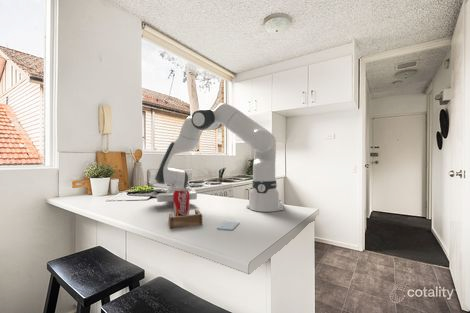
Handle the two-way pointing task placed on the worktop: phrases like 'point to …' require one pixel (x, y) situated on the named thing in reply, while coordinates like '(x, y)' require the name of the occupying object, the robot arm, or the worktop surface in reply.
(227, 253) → the worktop surface
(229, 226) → the slate card
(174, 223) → the can rack
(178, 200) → the soda can
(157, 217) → the worktop surface
